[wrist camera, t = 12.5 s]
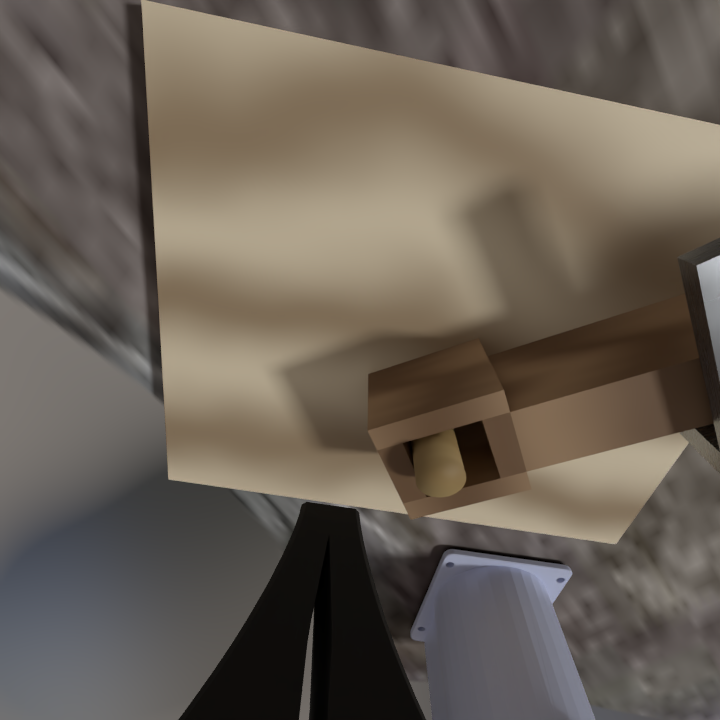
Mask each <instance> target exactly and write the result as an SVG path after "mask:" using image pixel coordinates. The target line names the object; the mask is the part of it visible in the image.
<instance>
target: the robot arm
mask: <svg viewBox="0 0 720 720" xmlns="http://www.w3.org/2000/svg"><path fill="white" fill-rule="evenodd" d="M571 576H572V571H571V569H570V567H569V566H567V565H563V564H556V563H549V562H542V561H534V560H527V559H520V558H513V557H506V556H499V555H492V554H485V553H477V552H470V551H463V550H456V549H449V550H446V551H445V552H444V553H443V555H442V558H441V560H440V563H439V565H438V567H437V570H436V572H435V574H434V577H433V579H432V581H431V584H430V586H429V588H428V591H427V593H426V596H425V598H424V600H423V603H422V605H421V607H420V610H419V612H418V614H417V617H416V619H415V621H414V624H413V626H412V628H411V631H410V635H411V638H412V639H413V640H416V641H423V642H425V652H426V662H427V672H428V682H429V691H430V701H431V710H432V720H595V717H594V714H593V712H592V709H591V706H590V704H589V701H588V698H587V696H586V693H585V690H584V688H583V685H582V682H581V680H580V677H579V674H578V672H577V669H576V666H575V664H574V661H573V658H572V656H571V653H570V650H569V648H568V645H567V642H566V640H565V637H564V634H563V632H562V629H561V626H560V624H559V621H558V618H557V616H556V613H555V610H554V608H553V605H552V604H553V602H554V601H555V599H556V598H557V596H558V595H559V593H560V592H561V590H562V589H563V587H564V586H565V584H566V583H567V581H568V580H569V579H570V577H571ZM313 608H314V626H313V648H312V672H311V694H310V713H309V720H426V719H425V717H424V714H423V712H422V710H421V708H420V705H419V703H418V701H417V699H416V697H415V694H414V692H413V689H412V687H411V685H410V682H409V680H408V678H407V675H406V673H405V670H404V668H403V665H402V663H401V660H400V658H399V655H398V653H397V650H396V647H395V645H394V642H393V639H392V636H391V634H390V631H389V628H388V625H387V622H386V620H385V617H384V614H383V611H382V607H381V604H380V601H379V598H378V594H377V591H376V588H375V584H374V581H373V578H372V574H371V570H370V567H369V563H368V559H367V555H366V550H365V546H364V541H363V536H362V531H361V525H360V517H359V512H358V511H357V510H356V509H352V508H345V507H338V506H331V505H324V504H317V503H310V502H306V503H304V504H302V506H301V510H300V514H299V517H298V520H297V523H296V526H295V528H294V531H293V533H292V536H291V538H290V540H289V542H288V545H287V547H286V549H285V551H284V553H283V555H282V557H281V559H280V561H279V563H278V565H277V567H276V569H275V571H274V573H273V575H272V577H271V579H270V581H269V583H268V585H267V587H266V588H265V590H264V592H263V593H262V595H261V597H260V599H259V600H258V602H257V604H256V605H255V607H254V609H253V611H252V612H251V614H250V615H249V617H248V619H247V621H246V623H245V624H244V625H243V627H242V629H241V630H240V632H239V633H238V635H237V637H236V638H235V640H234V641H233V643H232V644H231V646H230V647H229V649H228V650H227V652H226V653H225V655H224V656H223V658H222V659H221V661H220V662H219V664H218V665H217V667H216V668H215V670H214V671H213V673H212V674H211V675H210V677H209V678H208V680H207V681H206V682H205V684H204V685H203V687H202V688H201V690H200V691H199V692H198V694H197V695H196V696H195V698H194V699H193V701H192V702H191V704H190V705H189V706H188V708H187V709H186V710H185V712H184V713H183V715H182V716H181V717H180V718H179V720H299V712H300V703H301V695H302V686H303V677H304V668H305V658H306V650H307V641H308V635H309V629H310V623H311V618H312V613H313Z"/></svg>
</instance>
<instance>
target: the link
mask: <svg viewBox="0 0 720 720" xmlns="http://www.w3.org/2000/svg"><path fill="white" fill-rule="evenodd" d="M710 424H714V422H713V418H712V413H711V409H710V404H709V399H708V395H707V390H706V386H705V381H704V377H703V372H702V368H701V363H700V359H699V354H698V350H697V345H696V341H695V336H694V332H693V327H692V322H691V318H690V313H689V309H688V304H687V300H686V295H685V294H683V295H679V296H676V297H673V298H670V299H667V300H664V301H661V302H657V303H654V304H651V305H648V306H645V307H642V308H638V309H635V310H632V311H629V312H626V313H623V314H619V315H616V316H613V317H610V318H607V319H604V320H601V321H597V322H594V323H591V324H588V325H585V326H582V327H578V328H575V329H572V330H569V331H566V332H563V333H560V334H556V335H553V336H550V337H547V338H544V339H541V340H537V341H534V342H531V343H528V344H525V345H522V346H518V347H515V348H512V349H509V350H506V351H503V352H500V353H496V354H493V355H490V356H487V355H486V353H485V351H484V349H483V347H482V345H481V342H480V340H479V338H477V339H474V340H471V341H468V342H465V343H462V344H459V345H456V346H453V347H450V348H446V349H443V350H440V351H437V352H434V353H431V354H428V355H425V356H422V357H419V358H416V359H413V360H410V361H407V362H404V363H401V364H398V365H394V366H391V367H388V368H385V369H382V370H379V371H376V372H373V373H370V374H368V427H367V431H368V433H369V435H370V437H371V439H372V441H373V443H374V445H375V447H376V449H377V451H378V453H379V455H380V457H381V460H382V462H383V464H384V466H385V468H386V470H387V472H388V474H389V476H390V478H391V480H392V482H393V484H394V486H395V488H396V490H397V492H398V494H399V497H400V499H401V501H402V503H403V505H404V507H405V509H406V511H407V513H408V515H409V517H410V519H415V518H419V517H423V516H427V515H431V514H435V513H439V512H443V511H447V510H451V509H455V508H459V507H463V506H467V505H471V504H475V503H479V502H483V501H487V500H491V499H495V498H499V497H503V496H507V495H511V494H515V493H519V492H524V491H528V490H532V489H531V485H530V482H529V478H528V475H527V472H528V471H531V470H535V469H539V468H543V467H547V466H551V465H555V464H559V463H563V462H566V461H570V460H574V459H578V458H582V457H586V456H590V455H594V454H598V453H601V452H605V451H609V450H613V449H617V448H621V447H625V446H629V445H632V444H636V443H640V442H644V441H648V440H652V439H656V438H660V437H664V436H667V435H671V434H675V433H679V432H683V431H687V430H691V429H695V428H699V427H702V426H706V425H710ZM453 428H454V432H455V436H456V439H457V443H458V447H459V451H460V454H461V458H462V462H463V466H464V469H465V473H466V482H465V485H464V486H463V488H462V489H461V490H460V491H458V492H457V493H455V494H453V495H451V496H447V497H431V496H428V495H426V494H424V493H423V492H421V491H420V490H419V488H418V487H417V485H416V479H415V471H414V463H413V455H412V446H411V441H412V440H415V439H418V438H422V437H425V436H429V435H432V434H436V433H439V432H443V431H446V430H450V429H453Z"/></svg>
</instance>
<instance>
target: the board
mask: <svg viewBox="0 0 720 720" xmlns="http://www.w3.org/2000/svg"><path fill="white" fill-rule="evenodd" d="M141 3H142V21H143V38H144V56H145V74H146V91H147V109H148V127H149V144H150V162H151V180H152V197H153V215H154V232H155V250H156V268H157V285H158V303H159V321H160V338H161V356H162V373H163V391H164V409H165V426H166V444H167V461H168V479H170V480H176V481H184V482H190V483H198V484H204V485H211V486H218V487H225V488H232V489H239V490H245V491H252V492H259V493H266V494H273V495H280V496H287V497H294V498H301V499H308V500H314V501H321V502H328V503H335V504H342V505H349V506H356V507H363V508H370V509H377V510H383V511H390V512H397V513H404V514H408V513H407V511H406V509H405V507H404V505H403V503H402V501H401V499H400V497H399V494H398V492H397V490H396V488H395V486H394V484H393V482H392V480H391V478H390V476H389V474H388V472H387V470H386V468H385V466H384V464H383V462H382V460H381V457H380V455H379V453H378V451H377V449H376V447H375V445H374V443H373V441H372V439H371V437H370V435H369V433H368V431H367V427H368V374H370V373H373V372H376V371H379V370H382V369H385V368H388V367H391V366H394V365H398V364H401V363H404V362H407V361H410V360H413V359H416V358H419V357H422V356H425V355H428V354H431V353H434V352H437V351H440V350H443V349H446V348H450V347H453V346H456V345H459V344H462V343H465V342H468V341H471V340H474V339H477V338H479V340H480V342H481V345H482V347H483V349H484V351H485V353H486V355H487V356H490V355H493V354H496V353H500V352H503V351H506V350H509V349H512V348H515V347H518V346H522V345H525V344H528V343H531V342H534V341H537V340H541V339H544V338H547V337H550V336H553V335H556V334H560V333H563V332H566V331H569V330H572V329H575V328H578V327H582V326H585V325H588V324H591V323H594V322H597V321H601V320H604V319H607V318H610V317H613V316H616V315H619V314H623V313H626V312H629V311H632V310H635V309H638V308H642V307H645V306H648V305H651V304H654V303H657V302H661V301H664V300H667V299H670V298H673V297H676V296H679V295H683V294H685V291H684V286H683V282H682V277H681V273H680V268H679V264H678V259H677V257H679V256H681V255H683V254H685V253H687V252H689V251H692V250H694V249H696V248H698V247H700V246H703V245H705V244H707V243H709V242H711V241H713V240H716V239H718V238H720V125H717V124H712V123H708V122H703V121H699V120H694V119H689V118H685V117H680V116H676V115H671V114H666V113H662V112H657V111H653V110H648V109H643V108H639V107H634V106H630V105H625V104H620V103H616V102H611V101H607V100H602V99H597V98H593V97H588V96H583V95H579V94H574V93H570V92H565V91H560V90H556V89H551V88H547V87H542V86H537V85H533V84H528V83H524V82H519V81H514V80H510V79H505V78H501V77H496V76H491V75H487V74H482V73H478V72H473V71H468V70H464V69H459V68H455V67H450V66H445V65H441V64H436V63H431V62H427V61H422V60H418V59H413V58H408V57H404V56H399V55H395V54H390V53H385V52H381V51H376V50H372V49H367V48H362V47H358V46H353V45H349V44H344V43H339V42H335V41H330V40H326V39H321V38H316V37H312V36H307V35H302V34H298V33H293V32H289V31H284V30H279V29H275V28H270V27H266V26H261V25H256V24H252V23H247V22H243V21H238V20H233V19H229V18H224V17H220V16H215V15H210V14H206V13H201V12H197V11H192V10H187V9H183V8H178V7H174V6H169V5H164V4H160V3H155V2H150V1H146V0H141ZM688 443H689V442H688V441H687V440H686V439H685V438H684V437H683V436H682V435H681V434H680V433H675V434H671V435H667V436H664V437H660V438H656V439H652V440H648V441H644V442H640V443H636V444H632V445H629V446H625V447H621V448H617V449H613V450H609V451H605V452H601V453H598V454H594V455H590V456H586V457H582V458H578V459H574V460H570V461H566V462H563V463H559V464H555V465H551V466H547V467H543V468H539V469H535V470H531V471H528V472H527V475H528V478H529V482H530V485H531V489H532V490H528V491H524V492H519V493H515V494H511V495H507V496H503V497H499V498H495V499H491V500H487V501H483V502H479V503H475V504H471V505H467V506H463V507H459V508H455V509H451V510H447V511H443V512H439V513H435V514H431V515H427V516H425V517H432V518H439V519H445V520H452V521H459V522H466V523H473V524H480V525H487V526H494V527H501V528H508V529H514V530H521V531H528V532H535V533H542V534H549V535H556V536H563V537H570V538H577V539H583V540H590V541H597V542H604V543H611V544H616V543H617V542H618V540H619V539H620V538H621V536H622V535H623V534H624V532H625V531H626V529H627V528H628V527H629V525H630V524H631V522H632V521H633V520H634V518H635V517H636V515H637V514H638V513H639V511H640V510H641V508H642V507H643V506H644V504H645V503H646V502H647V500H648V499H649V497H650V496H651V495H652V493H653V492H654V490H655V489H656V488H657V486H658V485H659V483H660V482H661V481H662V479H663V478H664V477H665V475H666V474H667V472H668V471H669V470H670V468H671V467H672V465H673V464H674V463H675V461H676V460H677V458H678V457H679V456H680V454H681V453H682V452H683V450H684V449H685V447H686V446H687V445H688ZM411 446H412V455H413V463H414V471H415V479H416V485H417V487H418V488H419V490H420V491H421V492H423V493H424V494H426V495H428V496H431V497H447V496H451V495H453V494H455V493H457V492H458V491H460V490H461V489H462V488H463V486H464V485H465V482H466V473H465V469H464V466H463V462H462V458H461V454H460V451H459V447H458V443H457V439H456V436H455V432H454V428H453V429H450V430H446V431H443V432H439V433H436V434H432V435H429V436H425V437H422V438H418V439H415V440H412V441H411Z"/></svg>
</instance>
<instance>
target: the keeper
mask: <svg viewBox="0 0 720 720" xmlns="http://www.w3.org/2000/svg"><path fill="white" fill-rule="evenodd" d="M677 259H678V264H679V268H680V273H681V277H682V282H683V286H684V291H685V295H686V300H687V304H688V309H689V313H690V318H691V322H692V327H693V332H694V336H695V341H696V345H697V350H698V354H699V359H700V363H701V368H702V372H703V377H704V381H705V386H706V390H707V395H708V399H709V404H710V409H711V413H712V418H713V422H714V424H710V425H706V426H702V427H699V428H695V429H691V430H687V431H683V432H679V433H680V434H681V435H682V436H683V437H684V438H685V439H686V440H687V441H688V442H689V443H690V444H691V445H692V446H693V447H694V448H695V449H696V450H697V451H698V452H699V453H700V454H701V455H702V456H703V457H704V458H705V459H706V460H707V461H708V462H709V463H710V464H711V465H712V466H713V467H714V468H715V469H716V470H717V471H718V472H719V473H720V238H718V239H716V240H713V241H711V242H709V243H707V244H705V245H703V246H700V247H698V248H696V249H694V250H692V251H689V252H687V253H685V254H683V255H681V256H679V257H677Z"/></svg>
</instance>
